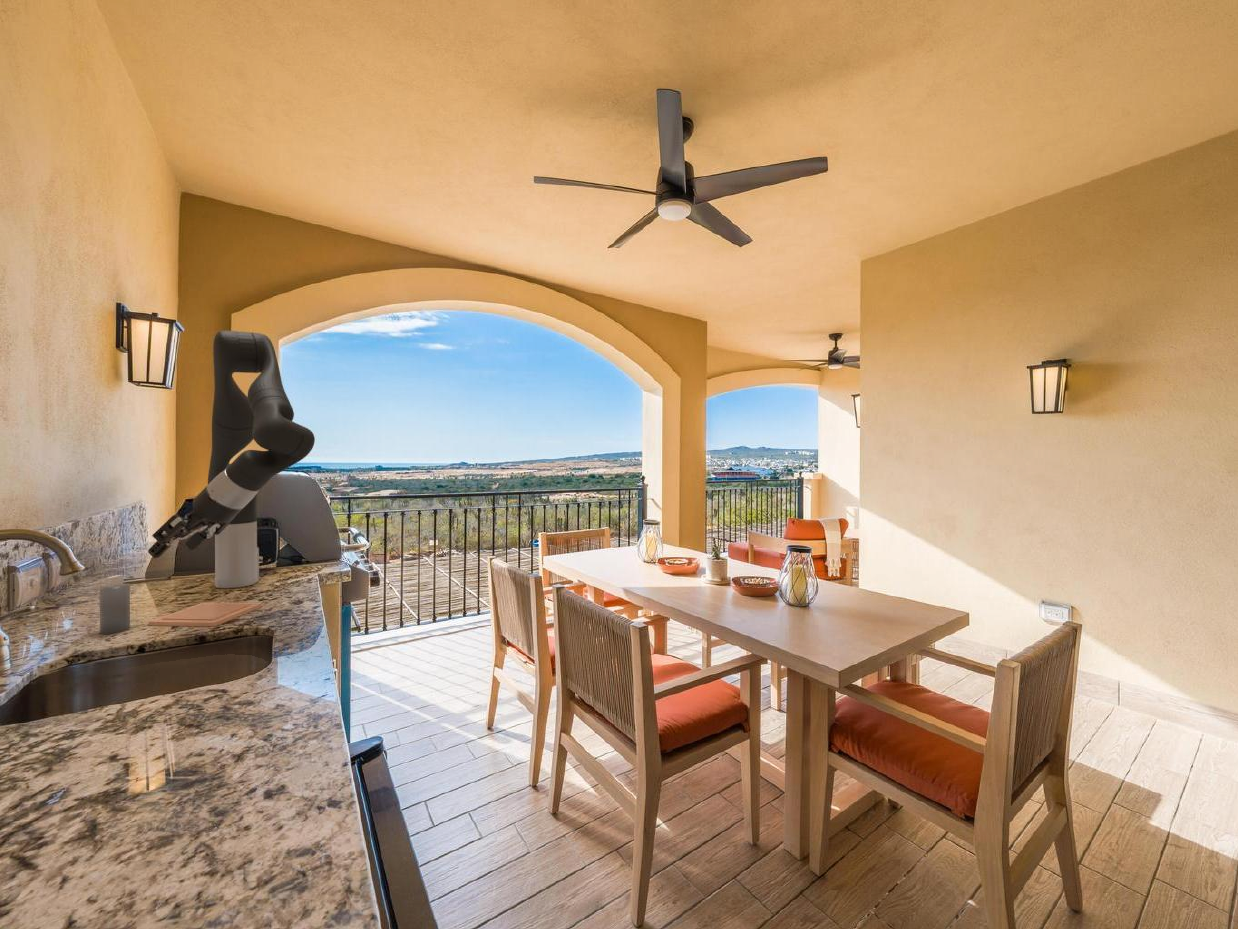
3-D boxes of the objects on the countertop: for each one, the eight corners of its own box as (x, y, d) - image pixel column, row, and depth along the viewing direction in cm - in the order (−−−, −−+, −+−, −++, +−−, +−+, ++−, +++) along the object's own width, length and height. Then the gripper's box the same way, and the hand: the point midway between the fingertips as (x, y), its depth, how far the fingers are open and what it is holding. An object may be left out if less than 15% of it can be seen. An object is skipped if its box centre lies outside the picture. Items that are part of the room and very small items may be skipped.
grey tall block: (115, 626, 107) (114, 573, 107) (136, 626, 107) (135, 574, 107) (93, 633, 103) (92, 578, 103) (115, 634, 103) (114, 579, 103)
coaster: (202, 605, 122) (202, 601, 122) (261, 606, 122) (261, 602, 122) (148, 625, 108) (148, 620, 108) (214, 626, 108) (214, 621, 108)
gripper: (240, 480, 112) (188, 532, 112) (184, 483, 97) (124, 543, 98) (265, 504, 112) (212, 557, 112) (212, 511, 97) (152, 572, 98)
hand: (171, 551), depth 105 cm, fingers open, 8 cm apart
